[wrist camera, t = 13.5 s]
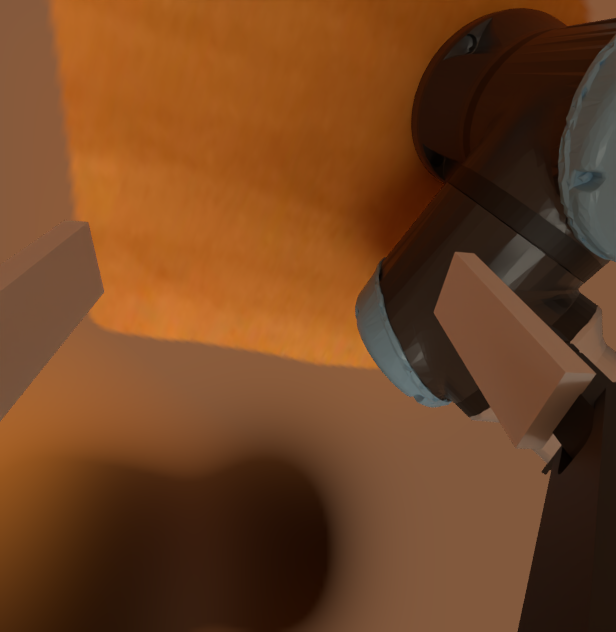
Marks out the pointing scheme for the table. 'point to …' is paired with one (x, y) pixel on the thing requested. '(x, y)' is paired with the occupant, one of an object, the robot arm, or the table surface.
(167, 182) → the table surface
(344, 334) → the table surface
